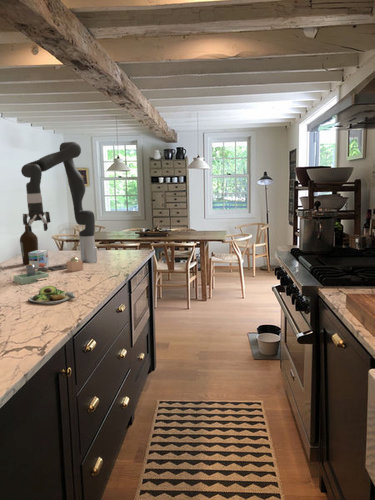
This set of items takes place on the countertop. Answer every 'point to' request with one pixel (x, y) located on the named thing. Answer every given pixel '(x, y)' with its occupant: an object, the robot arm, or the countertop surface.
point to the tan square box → (74, 265)
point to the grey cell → (30, 270)
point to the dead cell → (74, 259)
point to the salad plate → (51, 296)
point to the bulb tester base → (51, 268)
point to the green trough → (25, 280)
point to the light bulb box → (38, 258)
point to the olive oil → (28, 245)
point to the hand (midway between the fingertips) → (38, 231)
